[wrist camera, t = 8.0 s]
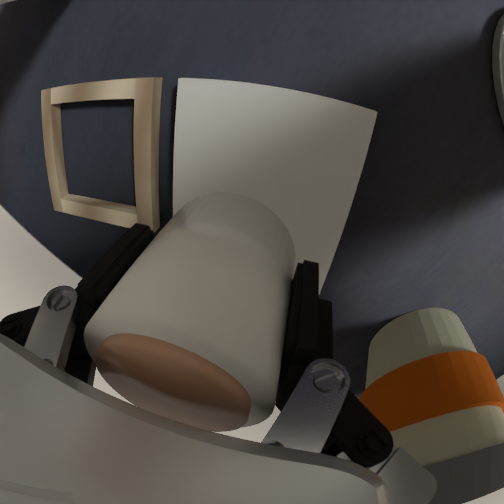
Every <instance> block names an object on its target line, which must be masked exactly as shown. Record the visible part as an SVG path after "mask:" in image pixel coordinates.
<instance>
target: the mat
mask: <svg viewBox="0 0 504 504" xmlns="http://www.w3.org/2000/svg"><path fill="white" fill-rule="evenodd" d="M376 116H377V112H376V111H374V110H372V109H368V108H365V107H362V106H358V105H355V104H351V103H348V102H344V101H340V100H337V99H333V98H329V97H324V96H320V95H316V94H311V93H307V92H302V91H297V90H292V89H286V88H280V87H275V86H268V85H261V84H254V83H246V82H238V81H228V80H216V79H200V78H179V79H178V90H177V102H176V117H175V134H174V159H173V216H174V215H175V214H176V213H177V212H178V211H179V210H180V209H181V208H182V207H183V206H184V205H185V204H186V203H187V202H189V201H191V200H192V199H194V198H196V197H198V196H201V195H205V194H208V193H215V192H229V193H236V194H240V195H244V196H247V197H250V198H252V199H255V200H256V201H258V202H260V203H262V204H264V205H265V206H266V207H268V208H269V209H271V210H272V211H273V212H274V213H275V214H276V215H277V216H278V217H279V218H280V219H281V220H282V222H283V223H284V224H285V226H286V227H287V229H288V231H289V233H290V235H291V237H292V240H293V243H294V248H295V265H294V274H295V270H296V267H297V264H298V263H303V262H304V260H307V261H312V262H316V263H319V294H320V292H321V289H322V286H323V284H324V281H325V279H326V276H327V273H328V271H329V268H330V265H331V263H332V260H333V257H334V255H335V252H336V249H337V246H338V243H339V241H340V238H341V235H342V232H343V229H344V226H345V223H346V220H347V217H348V214H349V211H350V208H351V205H352V202H353V199H354V195H355V192H356V189H357V186H358V182H359V179H360V176H361V172H362V169H363V165H364V162H365V158H366V155H367V151H368V148H369V144H370V140H371V136H372V132H373V128H374V125H375V121H376ZM294 274H293V277H294Z"/></svg>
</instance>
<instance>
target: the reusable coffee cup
mask: <svg viewBox="0 0 504 504" xmlns="http://www.w3.org/2000/svg"><path fill="white" fill-rule="evenodd" d="M359 401H360V402H361V403H362V404H363V405H364V406H365V407H366V408H367V409H368V410H369V411H370V412H371V413H372V414H373V415H374V416H375V417H376V418H377V419H378V420H379V421H380V422H381V423H382V424H383V425H384V426H385V427H386V428H387V429H388V430H389V432H390V433H391V435H392V438H393V445H394V446H396V447H397V448H399V447H401V448H402V449H403V450H405V451H406V452H407V453H408V454H409V455H410V456H411V457H413V458H414V459H415V460H416V461H417V462H418V463H420V464H421V465H422V466H423V467H424V468H425V469H427V470H428V471H429V472H430V473H431V474H432V475H433V476H434V477H435V479H436V482H437V489H436V492H435V494H434V496H433V498H432V499H431V501H430V502H429V504H462V503H465V502H468V501H471V500H474V499H477V498H479V497H482V496H485V495H487V494H489V493H492V492H494V491H497V490H499V489H501V488H503V487H504V398H503V395H502V393H501V390H500V388H499V386H498V383H497V381H496V379H495V377H494V374H493V372H492V370H491V368H490V366H489V364H488V362H487V360H486V358H485V357H484V356H482V355H481V354H479V353H477V351H476V349H475V347H474V345H473V343H472V341H471V339H470V337H469V336H468V334H467V332H466V330H465V328H464V326H463V324H462V323H461V321H460V319H459V318H458V316H457V315H456V314H454V313H453V312H452V311H449V310H447V309H442V308H425V309H419V310H415V311H412V312H409V313H406V314H404V315H402V316H400V317H397V318H396V319H394V320H392V321H391V322H389V323H388V324H386V325H385V326H384V327H383V328H381V329H380V330H379V332H378V333H377V334H376V335H375V336H374V338H373V339H372V341H371V343H370V346H369V353H368V366H367V377H366V386H365V390H364V392H363V393H362V394H361V396H360V398H359Z"/></svg>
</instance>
